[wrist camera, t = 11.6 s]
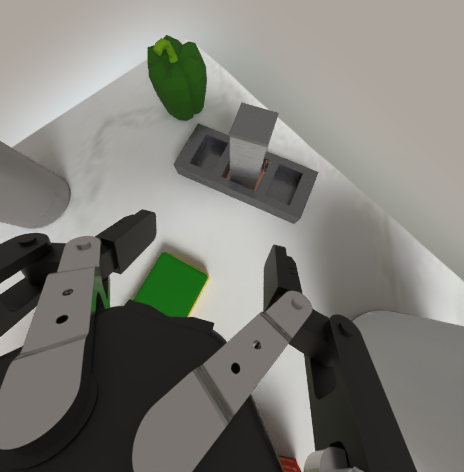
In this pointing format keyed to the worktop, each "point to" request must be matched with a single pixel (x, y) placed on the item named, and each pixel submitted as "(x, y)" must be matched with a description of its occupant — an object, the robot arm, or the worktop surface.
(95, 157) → the worktop surface
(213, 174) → the peg hole block
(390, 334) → the utensil holder
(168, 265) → the dish sponge
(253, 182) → the steel peg
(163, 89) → the bell pepper
